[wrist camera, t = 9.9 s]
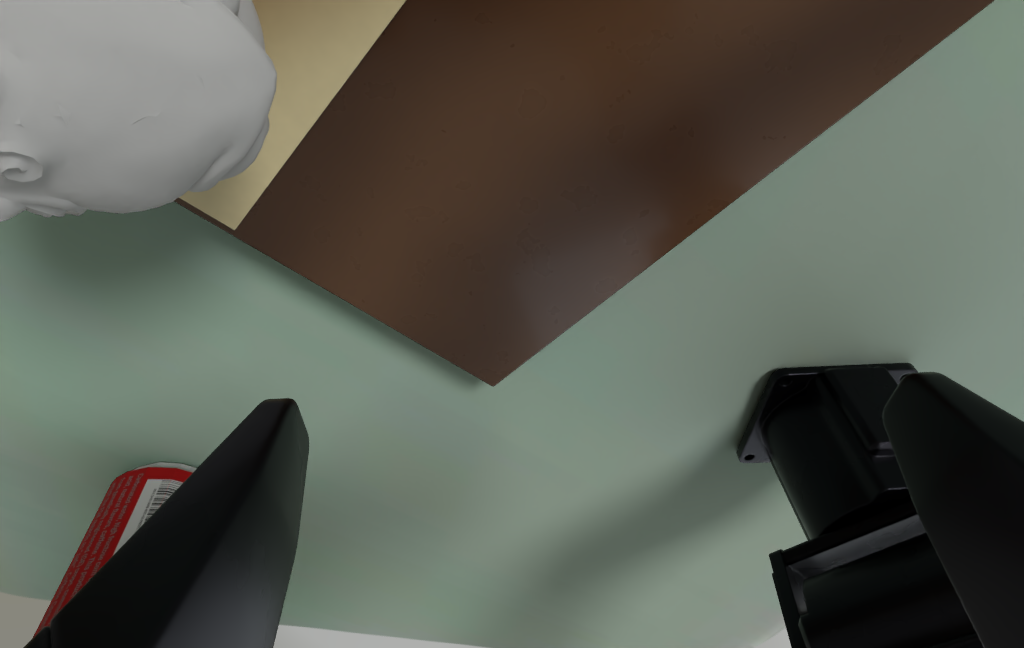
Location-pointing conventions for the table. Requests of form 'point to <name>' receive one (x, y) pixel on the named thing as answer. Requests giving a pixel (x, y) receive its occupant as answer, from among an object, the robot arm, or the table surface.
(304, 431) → the robot arm
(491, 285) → the board
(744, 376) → the table surface
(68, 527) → the table surface
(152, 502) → the soda can
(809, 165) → the table surface
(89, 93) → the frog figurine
